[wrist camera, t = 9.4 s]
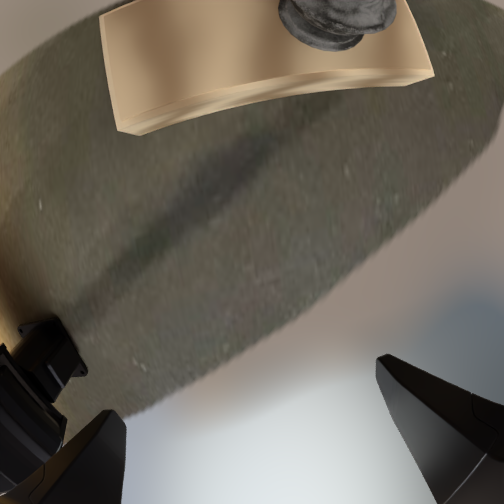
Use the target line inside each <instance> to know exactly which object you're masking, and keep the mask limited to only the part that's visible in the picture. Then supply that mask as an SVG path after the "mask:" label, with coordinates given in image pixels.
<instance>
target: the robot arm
mask: <svg viewBox="0 0 504 504" xmlns="http://www.w3.org/2000/svg"><path fill="white" fill-rule="evenodd" d="M55 323H56V324H55ZM18 332H19V333H20V335H21V337H22V340H21V341H20V342H19V343H18V344H17V345H16V346H15V347H14V348H13V350H12V351H11V352H10V353H9V352H8V350H7V349H6V348H7V347H6V346H5V344H4V343H2V344H0V494H2V493H6V492H7V493H6V494H4V495H2V496H0V504H121V499H122V488H123V480H124V471H125V460H126V459H125V458H126V457H125V456H126V425H125V423H124V422H123V420H122V419H121V418H120V417H119V415H118V414H117V413H116V411H114V410H103V411H102V412H101V413H99V414H98V415H97V416H96V417H95V418H94V419H93V420H92V421H91V422H90V423H89V424H87V425H86V426H85V427H84V428H83V429H82V430H81V431H80V432H79V433H78V434H77V435H75V436H74V437H73V438H72V439H71V440H70V441H69V442H68V443H67V444H66V445H64V446H63V440H64V435H65V429H66V424H67V418H66V417H65V416H64V415H62V414H61V413H60V412H59V411H58V410H57V409H56V408H55V407H54V406H53V405H52V403H55V401H56V399H57V397H58V396H59V394H60V392H61V391H62V389H63V388H65V386H66V384H67V383H68V381H69V380H70V378H71V377H82V376H86V375H87V374H88V370H87V368H86V367H85V365H84V363H83V362H82V360H81V358H80V357H79V355H78V353H77V352H76V350H75V348H74V346H73V345H72V343H71V341H70V339H69V338H68V336H67V334H66V332H65V330H64V328H63V326H62V324H61V322H60V321H59V320H58V319H57V318H50V319H46V320H41V321H36V322H31V323H27V324H22V325H20V326H19V327H18ZM376 380H377V383H378V385H379V388H380V390H381V392H382V395H383V397H384V400H385V402H386V405H387V407H388V410H389V412H390V415H391V417H392V419H393V421H394V423H395V425H396V426H397V428H398V430H399V432H400V434H401V436H402V437H403V439H404V441H405V443H406V445H407V447H408V448H409V450H410V452H411V454H412V456H413V458H414V459H415V461H416V463H417V465H418V467H419V469H420V471H421V473H422V475H423V477H424V479H425V481H426V482H427V484H428V486H429V488H430V490H431V492H432V494H433V496H434V498H435V500H436V502H437V504H504V405H501V404H498V403H495V402H492V401H490V400H487V399H485V398H483V397H480V396H478V395H476V394H473V393H472V394H471V392H469V391H466V390H464V389H462V388H460V387H458V386H456V385H454V384H451V383H449V382H447V381H445V380H443V379H441V378H438V377H436V376H434V375H432V374H430V373H428V372H426V371H424V370H421V369H419V368H417V367H415V366H413V365H411V364H409V363H407V362H405V361H403V360H401V359H399V358H397V357H394V356H392V355H390V354H385V355H383V356H380V357H378V358H377V359H376ZM62 446H63V447H62Z"/></svg>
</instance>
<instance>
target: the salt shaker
mask: <svg viewBox="0 0 504 504" xmlns="http://www.w3.org/2000/svg"><path fill="white" fill-rule="evenodd" d="M278 12H279V17H280V19H281V21H282V23H283V25H284V27H285V28H286V29H287V30H288V31H289V32H290V34H291V35H293V36H294V37H295V38H297V39H298V40H299V41H301V42H302V43H304V44H306V45H308V46H310V47H312V48H316V49H319V50H323V51H332V52H338V51H345V50H348V49H350V48H352V47H355V46H356V45H357V44H358V43H359V42H360V41H361V40H362V38H363V36H364V34H375V33H377V32H380V31H383V30H385V29H386V28H388V27H389V26H390V25H391V24H392V23H393V21H394V19H395V16H396V14H397V6H396V1H395V0H280V1H279V6H278Z"/></svg>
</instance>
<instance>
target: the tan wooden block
mask: <svg viewBox="0 0 504 504" xmlns="http://www.w3.org/2000/svg"><path fill="white" fill-rule="evenodd" d="M279 1H280V0H136V1H133V2H131V3H128V4H126V5H123V6H121V7H118V8H116V9H114V10H112V11H109V12H107V13H105V14H103V15H101V16H99V21H100V31H101V40H102V47H103V55H104V62H105V68H106V74H107V80H108V86H109V92H110V97H111V102H112V107H113V112H114V117H115V121H116V126H117V130H118V131H121V132H125V133H129V134H133V135H137V136H141V135H144V134H146V133H149V132H152V131H155V130H158V129H161V128H164V127H167V126H170V125H173V124H176V123H179V122H182V121H185V120H189V119H192V118H195V117H199V116H202V115H206V114H210V113H213V112H217V111H221V110H225V109H229V108H233V107H237V106H242V105H246V104H251V103H255V102H260V101H265V100H270V99H276V98H281V97H287V96H293V95H299V94H306V93H313V92H321V91H330V90H339V89H350V88H364V87H384V86H407V85H409V84H412V83H415V82H418V81H421V80H424V79H427V78H430V77H433V76H435V75H434V72H433V68H432V65H431V62H430V59H429V56H428V53H427V51H426V48H425V45H424V42H423V40H422V37H421V35H420V32H419V30H418V27H417V25H416V22H415V20H414V18H413V15H412V13H411V11H410V9H409V7H408V5H407V3H406V0H395V1H396V6H397V14H396V16H395V19H394V21H393V23H392V24H391V25H390V26H389V27H388V28H386V29H385V30H383V31H380V32H377V33H375V34H364V36H363V38H362V40H361V41H360V42H359V43H358V44H357V45H356V46H355V47H352V48H350V49H348V50H345V51H338V52H332V51H323V50H319V49H316V48H312V47H310V46H308V45H306V44H304V43H302V42H301V41H299V40H298V39H297V38H295V37H294V36H293V35H291V34H290V32H289V31H288V30H287V29H286V28H285V27H284V25H283V23H282V21H281V19H280V17H279V12H278V6H279Z"/></svg>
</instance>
